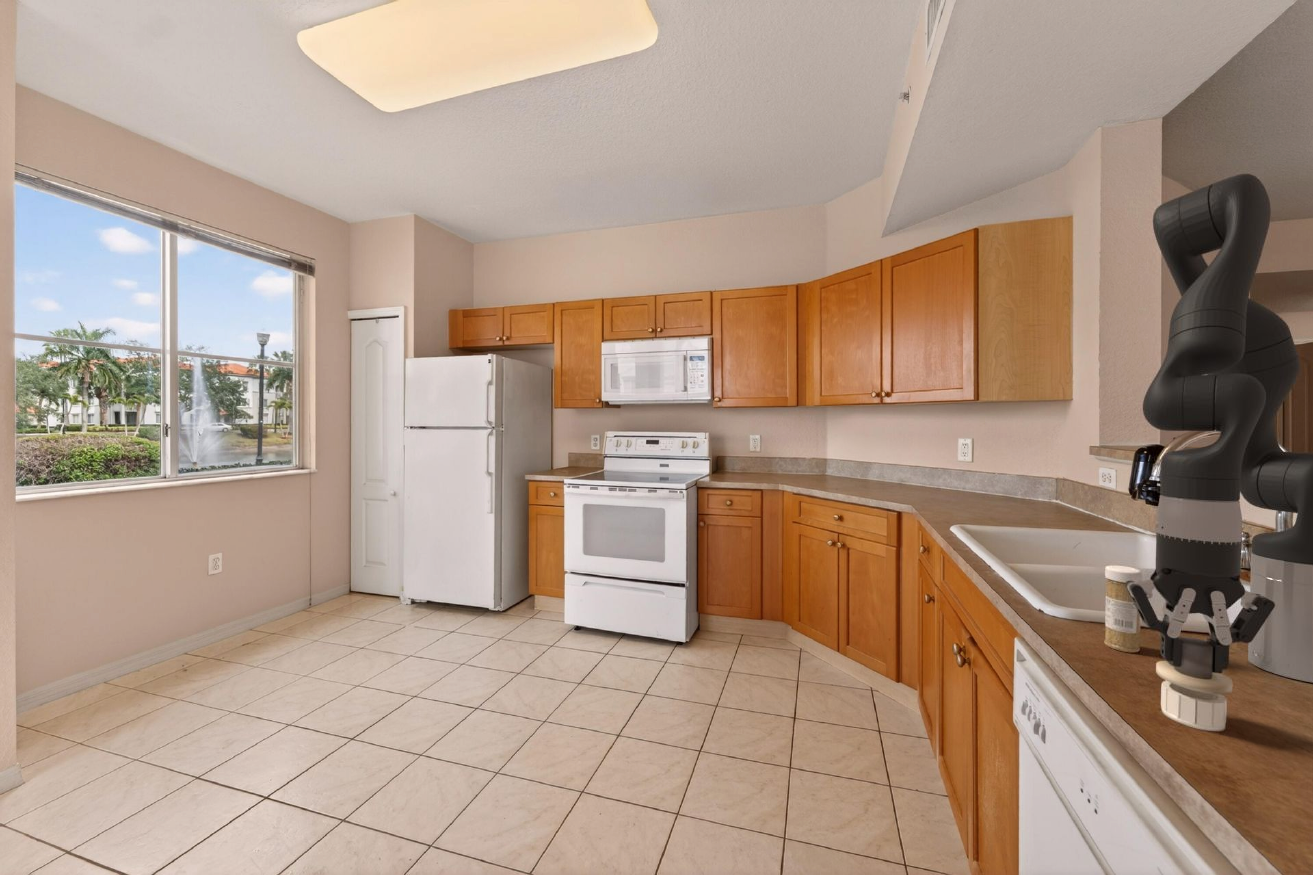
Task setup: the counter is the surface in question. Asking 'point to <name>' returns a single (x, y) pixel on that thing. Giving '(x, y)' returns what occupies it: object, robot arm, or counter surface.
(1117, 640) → the sprinkles bottle
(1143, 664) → the counter surface
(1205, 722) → the bowl
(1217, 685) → the lid
